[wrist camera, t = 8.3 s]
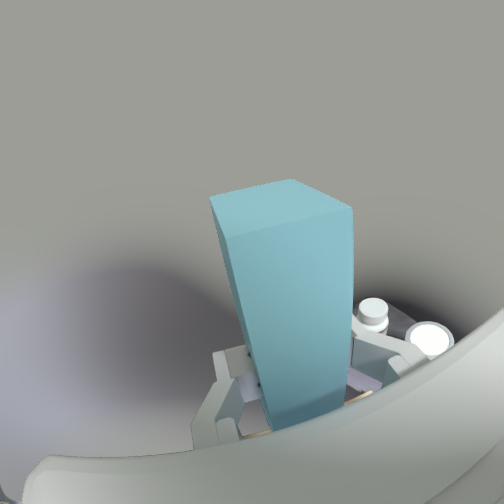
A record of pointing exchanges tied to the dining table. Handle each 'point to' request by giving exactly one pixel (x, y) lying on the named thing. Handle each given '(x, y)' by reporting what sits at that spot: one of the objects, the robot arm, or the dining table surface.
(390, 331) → the dining table surface
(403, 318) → the dining table surface
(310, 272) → the angled bracket
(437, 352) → the white cup
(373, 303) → the pill bottle
